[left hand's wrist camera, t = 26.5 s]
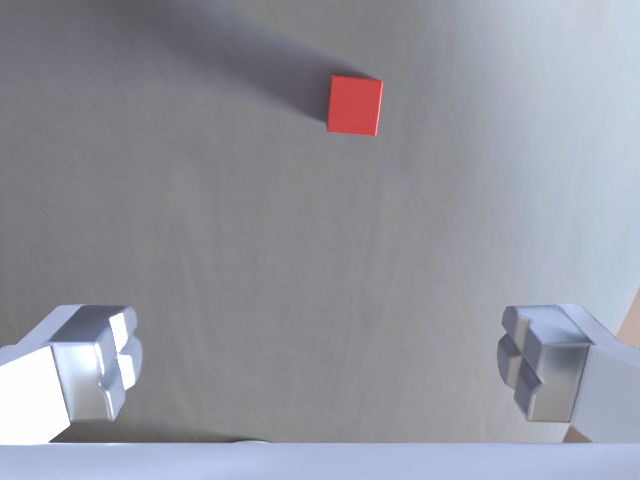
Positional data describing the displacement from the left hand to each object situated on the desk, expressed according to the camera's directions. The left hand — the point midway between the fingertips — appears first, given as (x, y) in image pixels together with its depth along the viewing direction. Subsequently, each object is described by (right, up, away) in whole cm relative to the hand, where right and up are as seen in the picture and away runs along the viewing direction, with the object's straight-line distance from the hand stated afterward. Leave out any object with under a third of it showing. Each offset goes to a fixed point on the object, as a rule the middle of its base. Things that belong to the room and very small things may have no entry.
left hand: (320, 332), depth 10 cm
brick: (+3, +15, +33) cm, 36 cm away
